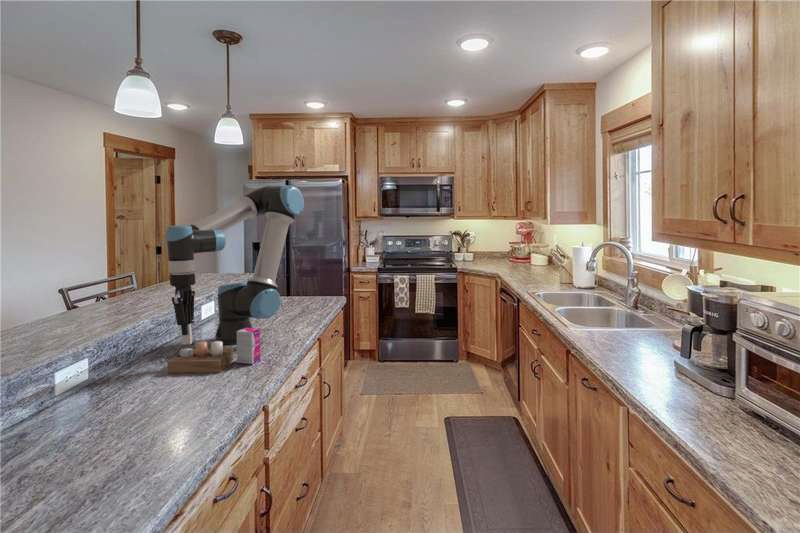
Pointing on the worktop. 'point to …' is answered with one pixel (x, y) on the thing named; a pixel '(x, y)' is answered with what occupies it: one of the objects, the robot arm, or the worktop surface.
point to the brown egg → (201, 349)
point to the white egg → (217, 348)
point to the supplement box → (248, 346)
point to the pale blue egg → (186, 352)
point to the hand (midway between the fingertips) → (187, 343)
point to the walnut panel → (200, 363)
